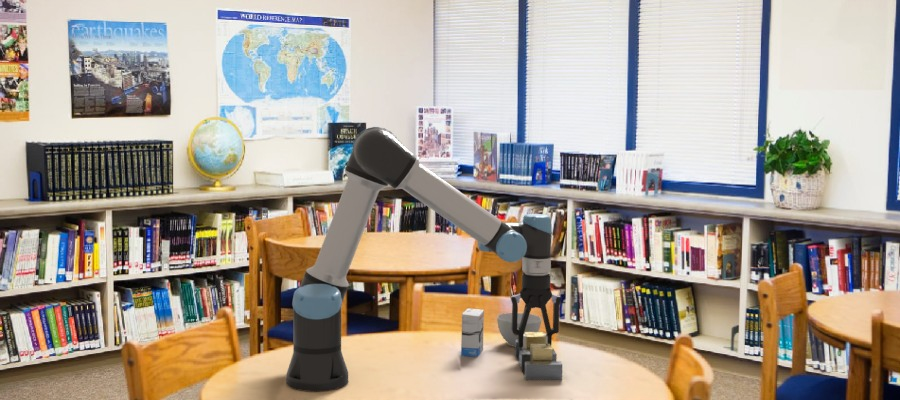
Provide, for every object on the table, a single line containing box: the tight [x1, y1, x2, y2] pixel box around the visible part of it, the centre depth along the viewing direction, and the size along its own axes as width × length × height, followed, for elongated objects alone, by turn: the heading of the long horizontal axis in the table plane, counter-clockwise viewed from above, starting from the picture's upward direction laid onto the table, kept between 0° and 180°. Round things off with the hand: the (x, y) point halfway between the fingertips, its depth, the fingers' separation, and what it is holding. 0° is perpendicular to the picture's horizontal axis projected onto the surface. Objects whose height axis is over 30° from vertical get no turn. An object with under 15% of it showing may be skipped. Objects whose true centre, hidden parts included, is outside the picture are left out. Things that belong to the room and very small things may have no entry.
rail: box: [514, 340, 563, 381], centre depth 258 cm, size 9×24×4 cm, turn 3°
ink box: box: [460, 308, 485, 358], centre depth 270 cm, size 8×5×12 cm, turn 168°
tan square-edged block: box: [524, 331, 546, 349], centre depth 263 cm, size 5×5×7 cm
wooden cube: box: [530, 344, 554, 361], centre depth 252 cm, size 5×5×7 cm
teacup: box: [496, 312, 543, 347], centre depth 282 cm, size 15×12×8 cm
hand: (534, 358), depth 264 cm, fingers closed on tan square-edged block, 5 cm apart
